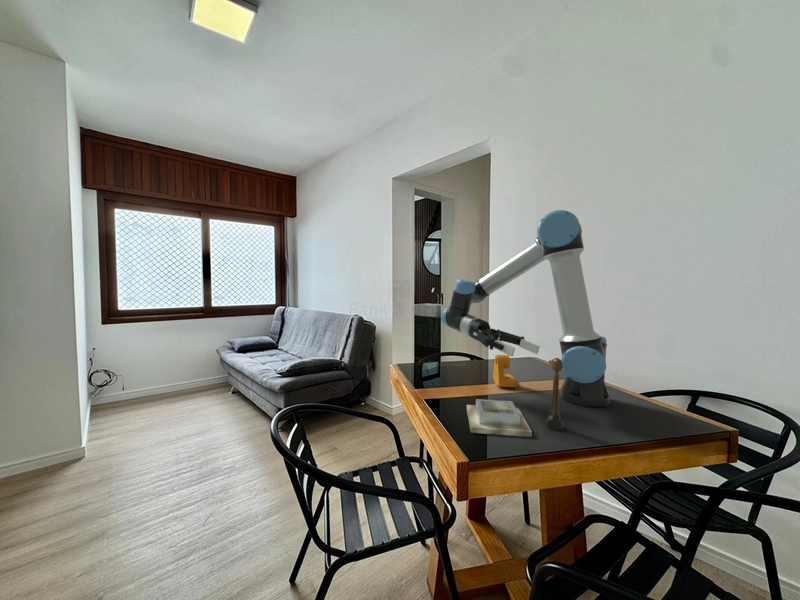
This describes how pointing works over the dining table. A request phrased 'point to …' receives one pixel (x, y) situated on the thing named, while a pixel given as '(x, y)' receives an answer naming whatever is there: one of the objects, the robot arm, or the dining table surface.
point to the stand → (497, 429)
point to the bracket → (498, 372)
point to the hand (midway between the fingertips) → (526, 351)
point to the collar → (497, 418)
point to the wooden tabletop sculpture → (555, 398)
